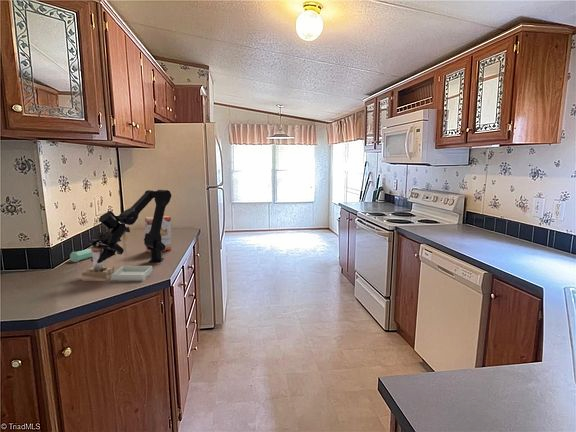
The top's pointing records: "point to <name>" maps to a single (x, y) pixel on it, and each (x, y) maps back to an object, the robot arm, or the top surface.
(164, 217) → the cracker box
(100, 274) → the socket block
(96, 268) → the clear tall cylinder
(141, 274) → the tray
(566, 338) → the top surface
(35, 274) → the top surface
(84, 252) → the container
